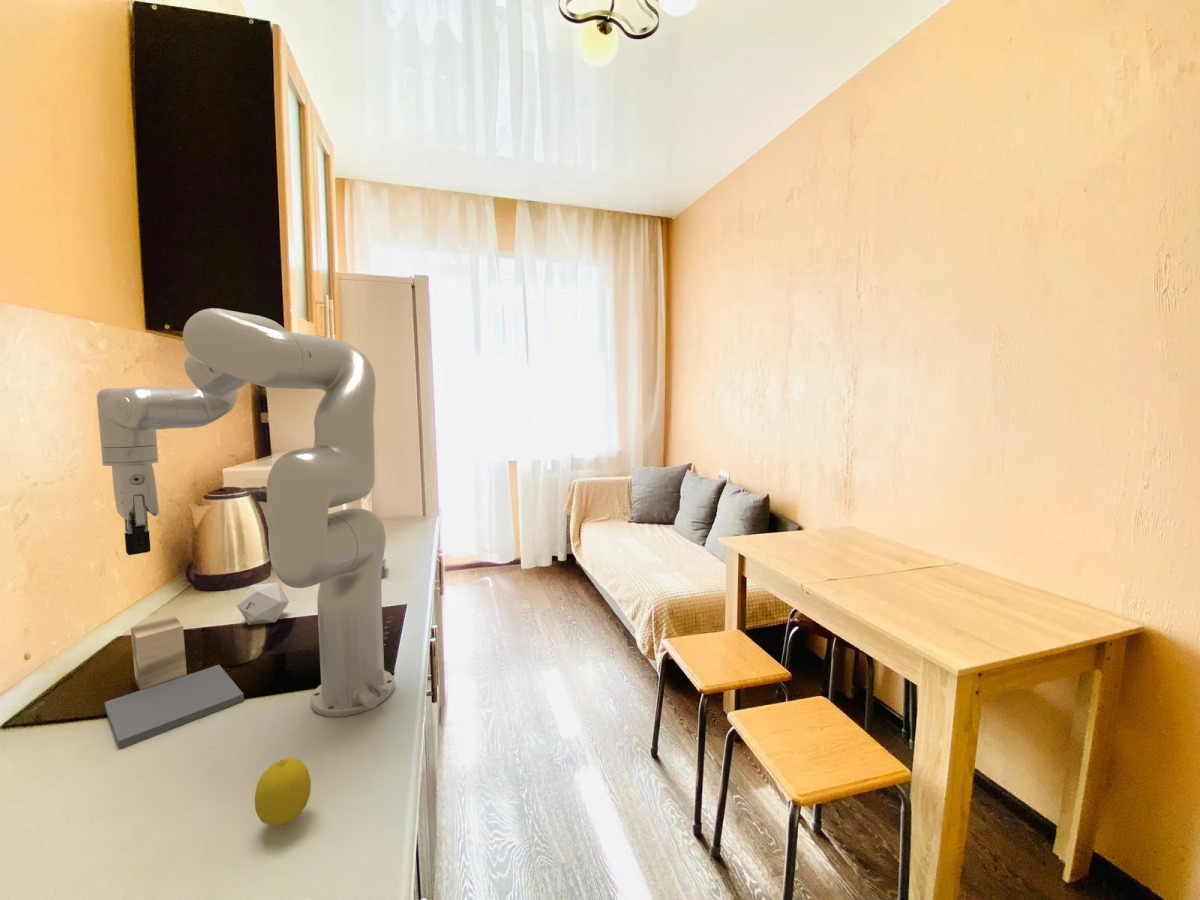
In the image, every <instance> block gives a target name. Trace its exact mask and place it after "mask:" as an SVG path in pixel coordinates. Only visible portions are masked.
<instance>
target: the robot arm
mask: <svg viewBox="0 0 1200 900" xmlns="http://www.w3.org/2000/svg"><path fill="white" fill-rule="evenodd" d="M182 341H183V345H184V347H185V349H186V351H187V352H188V355H187V356H186V358H185V360H184V371H185V374H186V376H187V378H188V379H189V380H190V381H191V383H192V384H193V385H194V387H168V386H167V387H164V386H163V387H162V386H159V387H158V386H157V387H156V386H155V387H154V386H137V387H136V386H135V387H128V388H126V387H123V388H122V387H119V388H118V387H108V388H103V389H101V390H99V391H98V392H97V395H96V404H97V405H96V406H97V414H98V426H99V437H100V439H99V441H100V451H101V461H102V463H101V464H102V466H107V467H111V471H112V472H111V473H112V484H113V495H114V502H115V508H116V511H117V514H119V516H120V517H121V518H122V519H123V520H124V522H123V523H124V528H125V529H124V531H125V532H124V542H125V553H126V554H127V555H128V556H133V555H139V554H146V553H150V552H151V538H150V537H151V536H150V531H149V521H148V519H149V517H148V513H149V514H150V515H152V516H153V517H157V516H158V515H160V507H159V499H158V492H157V491H158V489H157V484H156V476H155V471H154V466H153V464H156V463H159V454H158V452H159V451H158V441H157V440H158V439H157V437H158V436H157V430H158V431H159V430H168V429H170V430H171V429H191V428H192V429H194V428H201V427H205V426H208V425H209V424H211V423H213V422H216V421H217V420H219V419H221V418H223V417H224V416H225V415H227V414H228V413H230V412H231V411H232V410H233V409H234V407H235V405H236V403H237V401H238V397H239V390H240V389H241V388H244V387H245V386H246V385H248V384H254V385H256V386H259V387H265V388H271V389H291V390H293V389H294V390H296V389H297V390H322V391H324V395H323V396H322V398H321V399H320V401H319V403H318V405H317V408H316V411H315V414H314V419H313V427H314V442H313V443H314V444H313V447H307V448H306V447H304V448H297V449H293V450H291V451H287V452H286V453H284V454H283V455H281V456H279V458H277V460H276V461H275V462H274V463H273V465H272V467H271V469H270V471H269V473H268V477H267V481H266V511H267V531H268V550H269V559H270V562H271V563H270V564H271V567H272V569H273V572H274V573H275V575H276V577H277V579H279V580H280V582H282V583H283V584H284V585H285V586H287V587H291V588H293V589H294V588H295V589H306V588H310V587H313V586H316V585H318V584H319V587H318V591H317V601H316V602H317V604H316V605H317V625H318V645H319V665H320V683H321V684H319V685H318V686H317V687H316V688H315V689H314V691H313V692H312V694H311V696H310V704H311V708H312V709H313V711H314V712H316V713H317V714H320V715H323V716H327V717H344V716H351V715H356V714H359V713H363V712H365V711H368V710H372V709H374V708H376V707H377V706H378V705H380V704H381V703H383V702H384V701H385V700H386V699H387V698H388V697H390V695H391V694H392V693H393V691H394V689H395V678H394V676H393V675H392V674H391V672H390V671H387V670H385V659H384V656H385V655H384V654H385V653H384V639H383V638H384V633H383V632H384V629H383V627H384V626H383V605H382V604H383V603H382V601H383V600H382V596H383V595H382V578H381V573H382V563H383V559H384V555H385V550H386V537H387V536H386V530H385V526H384V524H383V522H382V521H381V519H380V518H379V516H377V515H376V513H373V512H372V511H370V510H368V509H365V508H357V507H355V508H347V509H343V510H339V511H334V512H331V513H329V509H331V508H335V507H339V506H342V505H345V504H349V503H352V502H355V501H359V500H361V499H364V498H365V497H366V496H368V495H369V494H370V493H371V492H372V490H373V488H374V485H375V480H376V478H375V477H376V476H375V473H376V469H375V467H376V465H375V460H376V459H375V429H374V413H375V401H376V387H377V386H376V383H377V382H376V376H375V372H374V368H373V366H372V364H371V362H370V360H369V359H368V357H367V356H366V355H365V354H364V353H363V352H362V351H361V350H360V349H358V348H357V347H355V346H354V345H352V344H349V343H347V342H344V341H341V340H339V339H334V338H330V337H325V336H321V335H314V334H307V333H306V334H305V333H300V332H291V331H287V330H286V329H285V328H284V327H283V326H282V325H281V324H279V323H278V322H276V321H275V320H272V319H270V318H268V317H265V316H262V315H256V314H253V313H252V314H251V313H245V312H239V311H233V310H228V309H223V308H218V307H217V308H213V307H211V308H206V309H201V310H200V311H199V310H198V312H196V313H194V314H193V315H192V316H191V317H189V319H188V320H187V321H186V323H185V325H184V327H183V332H182Z"/></svg>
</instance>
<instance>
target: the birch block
mask: <svg viewBox="0 0 1200 900" xmlns="http://www.w3.org/2000/svg"><path fill="white" fill-rule="evenodd" d="M130 634H131V646H132V649H131V650H132V659H133V669H134V680H135V681H134V682H135V684H136V686H137V688H138V691H140V690H143V689H146V688H149V687H152V686H155V685H158V684H162V683H165V682H168V681H171V680H174V679H177V678H180V677H183V676H186V675H188V673H187V659H186V649H185V648H186V647H185V632H184V625H183V624H182V623H181V621H180V620H179V619H178V618H177V617H176V615H175V616H171V617H168V618H167V617H166V618H163V619H159V620H155V621H151V622H147V623H143V624H139V625H136V626H132V627H130Z"/></svg>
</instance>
